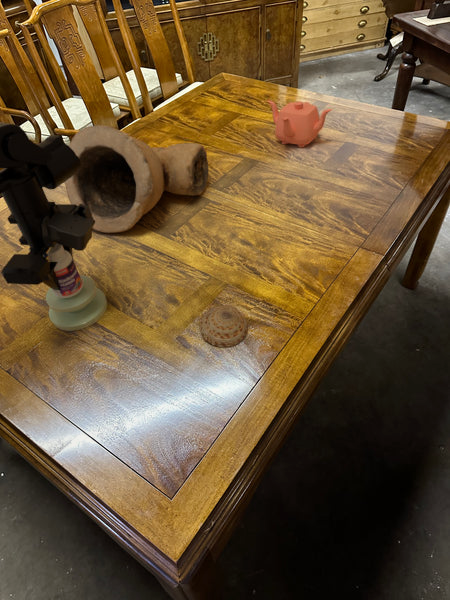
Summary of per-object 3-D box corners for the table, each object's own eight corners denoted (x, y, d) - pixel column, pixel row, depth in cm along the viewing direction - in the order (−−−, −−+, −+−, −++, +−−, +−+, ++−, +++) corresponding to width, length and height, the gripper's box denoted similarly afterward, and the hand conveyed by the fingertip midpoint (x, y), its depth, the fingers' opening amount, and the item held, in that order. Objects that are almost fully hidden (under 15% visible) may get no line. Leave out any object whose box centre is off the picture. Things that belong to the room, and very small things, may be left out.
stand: (41, 329, 79) (30, 311, 75) (64, 289, 86) (55, 270, 83) (95, 332, 77) (87, 314, 73) (114, 291, 84) (107, 272, 81)
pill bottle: (68, 302, 75) (47, 261, 68) (48, 293, 77) (26, 251, 70) (90, 284, 78) (72, 242, 71) (70, 275, 80) (51, 234, 73)
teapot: (329, 146, 121) (333, 107, 113) (282, 155, 119) (282, 116, 112) (311, 126, 131) (313, 89, 123) (267, 134, 129) (266, 97, 122)
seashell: (230, 295, 78) (248, 307, 71) (237, 321, 80) (256, 336, 73) (190, 311, 75) (204, 326, 68) (198, 338, 78) (213, 355, 71)
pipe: (214, 209, 119) (181, 240, 92) (119, 204, 124) (63, 233, 98) (212, 119, 108) (175, 126, 82) (109, 119, 114) (44, 125, 88)
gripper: (50, 241, 57) (86, 319, 68) (98, 174, 70) (122, 248, 81) (-23, 240, 59) (24, 315, 70) (37, 174, 72) (68, 246, 83)
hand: (64, 279), depth 76 cm, fingers closed on pill bottle, 5 cm apart
